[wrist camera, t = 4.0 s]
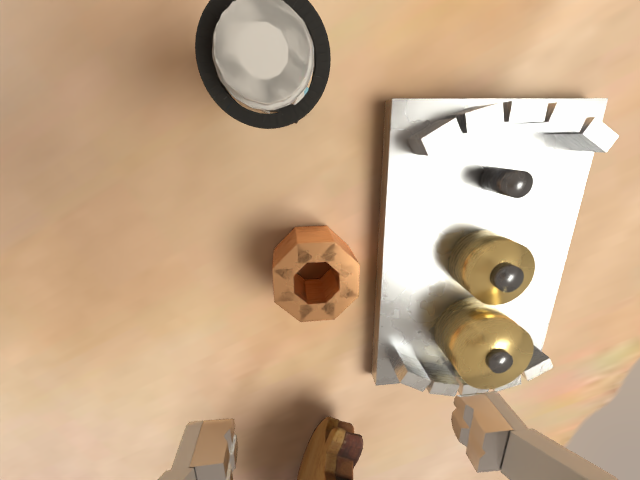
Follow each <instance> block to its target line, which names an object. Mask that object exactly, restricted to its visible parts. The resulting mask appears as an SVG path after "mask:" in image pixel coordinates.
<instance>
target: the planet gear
mask: <svg viewBox="0 0 640 480" xmlns="http://www.w3.org/2000/svg"><path fill="white" fill-rule="evenodd" d="M311 262H327V263H328V264H329V265H331V268H330V269H329V270H328V271H327V272H326V273H325V274H324V275H323V276H322V277H321V278H320V279H307V280H304V279H303V278H302V277H301V276H299V275H298V274H297V272H298V271H299V270H300V269H301V268H302V267H303V266H304V265H305V264H306V263H311ZM359 270H360V264H359V263H358V261H357V259H356V258H355V256H354V254H353V253H352V251H351V249H350V248H349V246H348V245H347V244H346V243H345V242H344V241H343V240H342V239H341V238H340V237H339V236H337V235H336V234H335V233H334V232H333V231H332V230H331V229H330V228H329V227H328V226H305V227H295V228H294V229H293V230H292V231H291V232H290V233H289V234H288V235H287V236H286V237H285V238H284V239H283V240H282V241H281V242H280V243H279V244H278V245H277V246H276V248H275V249H274V255H273V266H272V274H273V288H274V302H275V303H276V304H277V305H279V306H280V307H281V308H283V309H284V310H285V311H287V312H288V313H289V314H291V315H292V316H293V317H295V318H296V319H297V320H299V321H300V322H307V321H320V320H333V319H335V318H336V317H338V316H339V315H340V314H341V313H342V312H343V311H344V310H345V309H346V308H347V307H348V306H349V305H350V304H351V303H352V302H353V301H354V300H355V299H356V298H358V297H359Z"/></svg>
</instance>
